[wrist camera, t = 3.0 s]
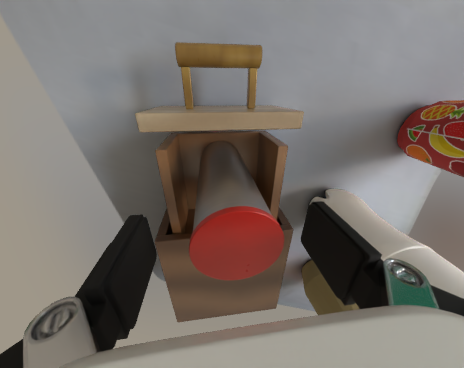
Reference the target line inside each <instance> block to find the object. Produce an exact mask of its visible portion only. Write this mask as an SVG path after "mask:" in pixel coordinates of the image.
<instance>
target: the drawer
mask: <svg viewBox="0 0 464 368" xmlns="http://www.w3.org/2000/svg"><path fill="white" fill-rule="evenodd" d="M175 51H176V59H177V63H178V66H179V67H181V72H182V80H183V89H184V98H185V106H160V107H156V108H153V109H149V110H145V111H142V112H138V113H135V116H136V120H137V124H138V128H139V132H177V131H221V130H266V129H300V128H301V125H302V119H303V114H304V112H303V111H298V110H293V109H288V108H283V107H278V106H273V105H256V106H255V100H256V83H257V69H258V68H259V67H260V65H261V61H262V47H261V45H239V44H208V43H178V42H176V43H175ZM190 67H199V68H249V69H248V89H247V106H194V104H193V94H192V83H191V72H190ZM217 141H225V142H228V143H231V144H232V145H233V146H235V147H236V148H237V150H238V152H239V154H240V155H241V157H242V159H243V161H244V163H245V165H246V167H247V169H248V171H249V173H250V174H251V176H252V178H253V180H254V182H255V184H256V186H257V188H258V190H259V191H260V193H261V195H262V197H263V199H264V201H265V203H266V205H267V207H268V209H269V210H270V212H271V214H272V216H273V217H274V218H275V219H276V220H277V215H278V208H279V202H280V195H281V189H282V182H283V176H284V169H285V163H286V157H287V150H288V146H287V145H286V144H284V143H283V142H281V141H280V140H278V139H277V138H275V137H274V136H272V135H271V134H269V133H268V132H266V131H227V132H184V133H171V134H170V135H169V136H168V137H167V138H166V139H165V140H164V141H163V143H162V144H161V145H160V146H159V147H158V148H157V149H156V150H155V152H156V157H157V162H158V167H159V171H160V176H161V181H162V185H163V190H164V195H165V200H166V204H167V209H168V214H169V219H170V223H171V228H172V233H173V234H183V233H193V226H194V216H195V207H196V197H197V188H198V179H199V169H200V160H201V154H202V152H203V150H204V149H205V148H206V147H207V146H208V145H209V144H211V143H213V142H217Z"/></svg>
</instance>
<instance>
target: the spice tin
mask: <svg viewBox="0 0 464 368" xmlns="http://www.w3.org/2000/svg"><path fill="white" fill-rule="evenodd" d="M283 247H284V234H283V231H282V229H281V227H280V225H279V223H278V222H277V220H276V219H275V218H274V217H273V216H272V214H271V212H270V210H269V209H268V207H267V205H266V203H265V201H264V199H263V197H262V195H261V193H260V191H259V190H258V188H257V186H256V184H255V182H254V180H253V178H252V176H251V174H250V173H249V171H248V169H247V167H246V165H245V163H244V161H243V159H242V157H241V155H240V154H239V152H238V150H237V148H236V147H235V146H233V145H232V144H231V143H228V142H225V141H217V142H213V143H211V144H209V145H208V146H207V147H206V148H205V149H204V150H203V152H202V154H201V160H200V169H199V179H198V188H197V197H196V207H195V216H194V226H193V233H192V235H191V238H190V243H189V256H190V259H191V261H192V263H193V265H194V266H195V267H196V268H197V269H198V270H199V271H200V272H201V273H203V274H205V275H206V276H209V277H211V278H215V279H220V280H240V279H245V278H249V277H252V276H254V275H257V274H259V273H261V272H263V271H264V270H266V269H267V268H269V267H270V266H271V265H272V264H273V263H274V262H275V261H276V260H277V259H278V257H279V256H280V254H281V252H282V250H283Z"/></svg>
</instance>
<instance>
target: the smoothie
mask: <svg viewBox="0 0 464 368" xmlns="http://www.w3.org/2000/svg"><path fill="white" fill-rule="evenodd" d="M397 142H398V145H399V147H400V148H401V149H402V150H404V152H405V153H406V154H407V155H408V156H410V157H412V158H415V159H418V160H420V161H423V162H425V163H428V164H431V165H433V166H436V167H438V168H441V169H444V170H446V171H449V172H451V173H454V174H457V175H459V176H462V177H464V100H462V101H439V102H437V103H435V104H432V105H430V106H425V107H422V108H420V109H418V110H417V111H415V112H414V113H412V114H411V115H410V116H409V117H408V118H407V119H406V120H405V122H404V123H403V125H402V126H401V128H400V131H399V133H398V139H397Z"/></svg>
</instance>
